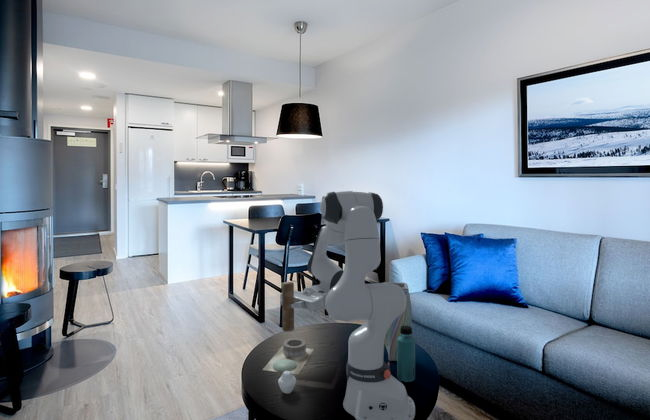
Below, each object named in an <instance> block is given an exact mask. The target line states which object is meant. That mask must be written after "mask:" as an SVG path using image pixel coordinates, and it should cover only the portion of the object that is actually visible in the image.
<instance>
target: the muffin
mask: <svg viewBox="0 0 650 420" xmlns="http://www.w3.org/2000/svg"><path fill="white" fill-rule="evenodd" d="M281 373H282V372H281ZM277 383H278V387H279V388H280V390H281V392H282V393H284V394H291V393H292V392H293V391H294V388H295V386H296V383H297V379H296V377H295V375H294V374H292V372H290V371H285V372H283V373H282V374H281V376H280V378H278V380H277Z"/></svg>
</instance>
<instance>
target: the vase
mask: <svg viewBox="0 0 650 420" xmlns="http://www.w3.org/2000/svg"><path fill="white" fill-rule="evenodd" d="M382 283H389V284H395V285H399V286H400V287H401V288H402V289H403V291H404V293H405V295H406V307H405V310H404V312H403V313H402V314H401V315H400V316H399V317H397V318H396V319H395V320H394V322H393V323H392V324H391V326H390V328H389V330H388V332H387V334H386V337H385V342H384V347H385V348H386V351H387V355H388V356H387V357H388V361H396V362H397V338H398V337H399V336H400V335H402V334H401V333H400V330H401V326H410V327H411V328H412V319H413V318H412V316H413V312H412V311H413V310H412V301H411V297H410V289H409V286H408V283H406V282H395V281H394V282H393V281H390V282H387V281H383V282H382Z"/></svg>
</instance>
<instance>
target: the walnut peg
mask: <svg viewBox="0 0 650 420" xmlns="http://www.w3.org/2000/svg"><path fill="white" fill-rule="evenodd" d="M294 286H295V285H294V282H292V281H285V282H282V283H281V293H282V305H281V307H282V308H281V310H282V313H281V315H282V318H281V319H282V321H281V322H282V331H283V332H294V331H295V308H291V307H290V303H293V302H294V291H295V289H294V288H295V287H294Z"/></svg>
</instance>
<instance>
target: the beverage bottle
mask: <svg viewBox="0 0 650 420" xmlns="http://www.w3.org/2000/svg"><path fill="white" fill-rule="evenodd" d="M400 333H401V334H402V335H400V336H399V337H398V338H397V361H396V377H397V380H398V381H400V382H404V383H405V382H406V383H409V382H411V383H412V382H413V381H415V379H416V363H417V362H416V339H415V337H413V335H412V334H413V328H412V326H411V327H410V326H401V330H400Z"/></svg>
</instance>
